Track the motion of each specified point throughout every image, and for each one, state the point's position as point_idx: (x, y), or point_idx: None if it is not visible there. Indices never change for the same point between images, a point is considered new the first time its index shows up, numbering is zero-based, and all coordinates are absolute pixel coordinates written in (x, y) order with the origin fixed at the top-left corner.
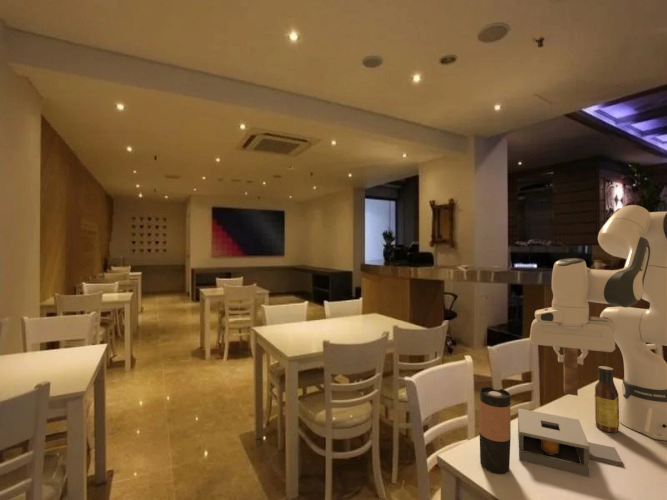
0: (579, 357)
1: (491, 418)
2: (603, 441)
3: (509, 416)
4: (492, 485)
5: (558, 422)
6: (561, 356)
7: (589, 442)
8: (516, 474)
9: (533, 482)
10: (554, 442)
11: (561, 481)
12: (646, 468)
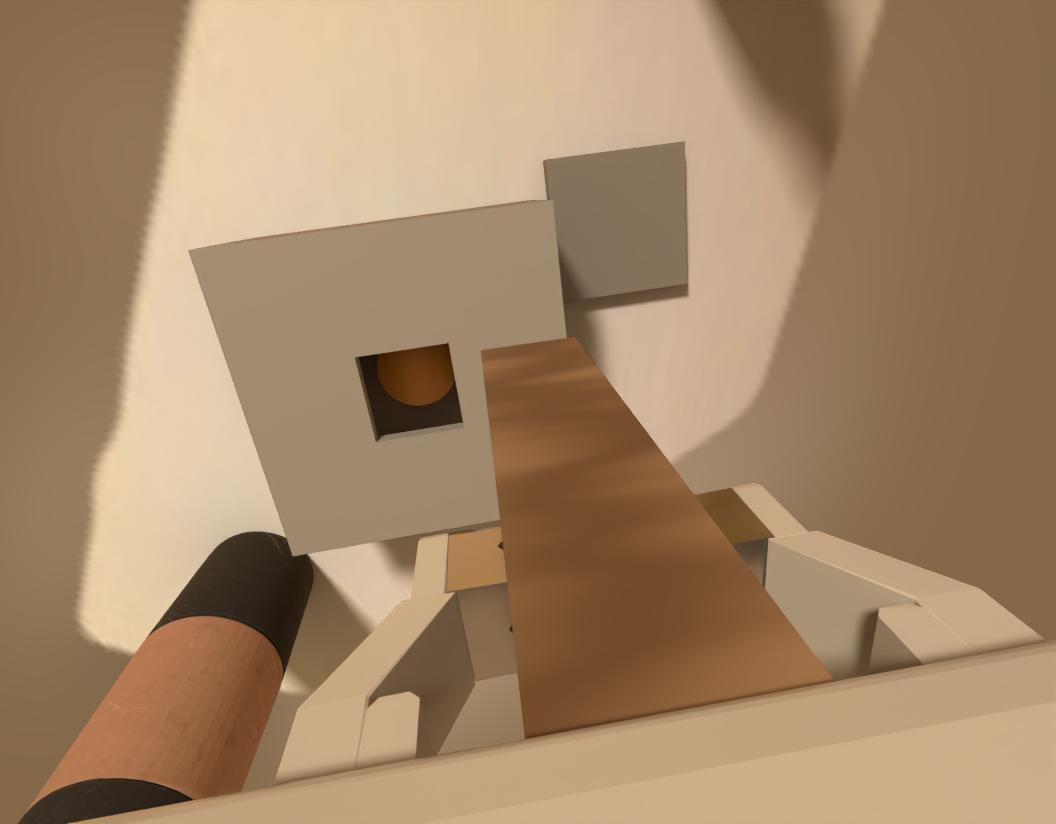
0: (759, 573)
1: None
2: (644, 49)
3: (244, 777)
4: (294, 667)
5: (447, 324)
6: (477, 669)
7: (579, 158)
8: (341, 574)
9: (398, 582)
10: (437, 377)
11: (475, 524)
12: (763, 240)
